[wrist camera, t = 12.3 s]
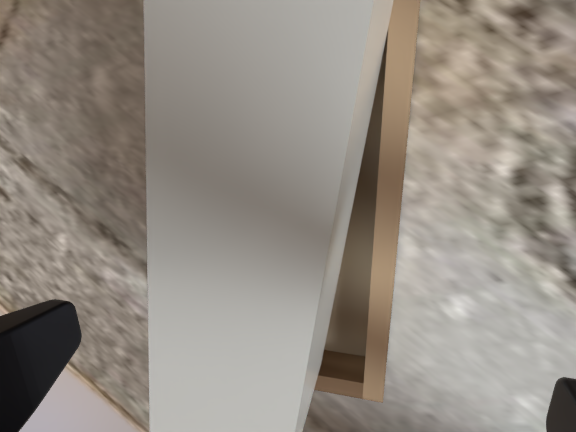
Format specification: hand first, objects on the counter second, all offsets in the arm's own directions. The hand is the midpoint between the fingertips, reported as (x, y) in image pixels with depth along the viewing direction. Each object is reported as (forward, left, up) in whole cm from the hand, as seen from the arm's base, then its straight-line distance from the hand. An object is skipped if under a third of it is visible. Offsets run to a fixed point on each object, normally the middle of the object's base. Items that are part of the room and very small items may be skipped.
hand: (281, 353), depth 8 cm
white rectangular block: (+1, +2, -7) cm, 8 cm away
